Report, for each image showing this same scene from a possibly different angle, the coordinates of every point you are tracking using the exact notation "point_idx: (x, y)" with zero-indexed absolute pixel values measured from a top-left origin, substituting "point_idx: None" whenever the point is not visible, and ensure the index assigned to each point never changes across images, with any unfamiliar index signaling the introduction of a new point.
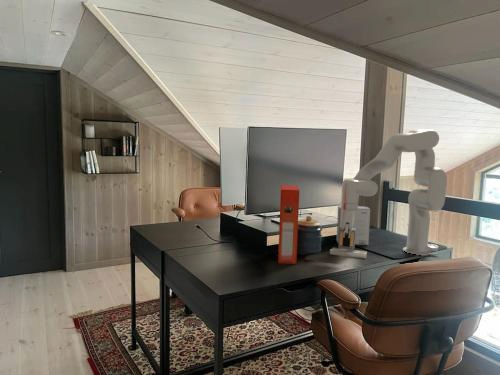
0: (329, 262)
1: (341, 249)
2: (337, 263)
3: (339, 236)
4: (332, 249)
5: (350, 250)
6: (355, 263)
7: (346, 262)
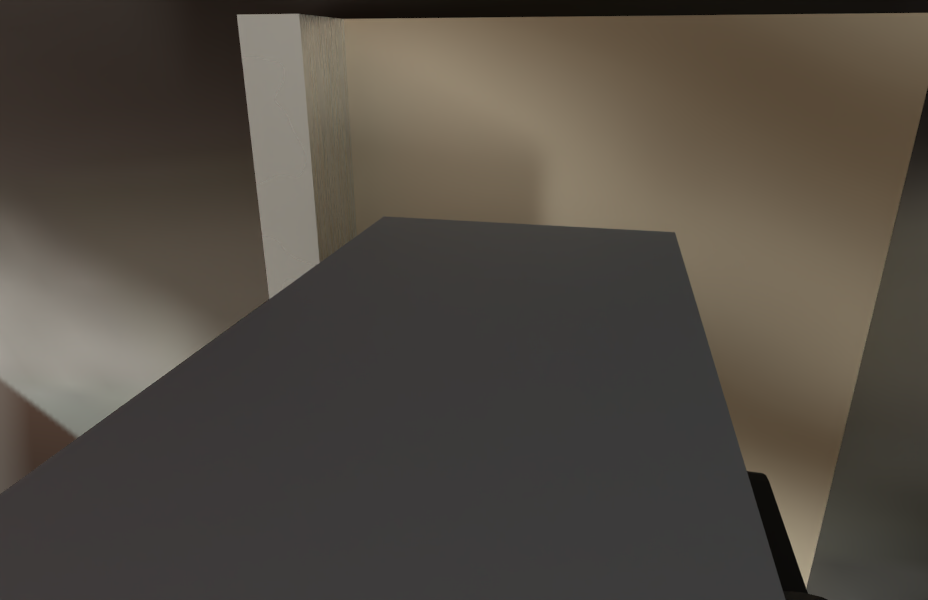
0: (36, 65)
1: (796, 250)
2: (67, 197)
3: (213, 357)
4: (298, 73)
5: (767, 435)
6: None
7: (189, 326)
